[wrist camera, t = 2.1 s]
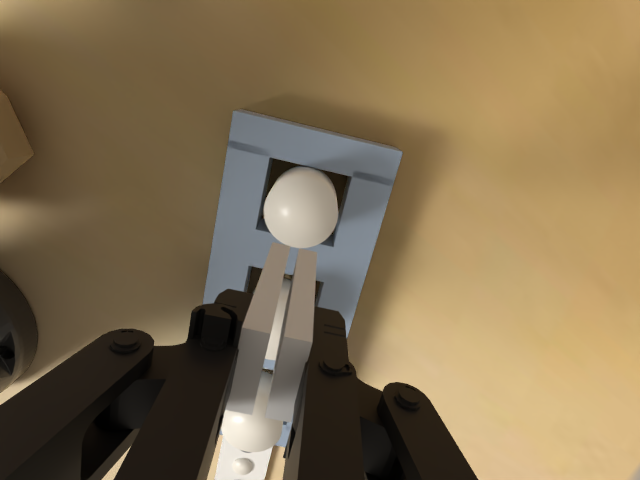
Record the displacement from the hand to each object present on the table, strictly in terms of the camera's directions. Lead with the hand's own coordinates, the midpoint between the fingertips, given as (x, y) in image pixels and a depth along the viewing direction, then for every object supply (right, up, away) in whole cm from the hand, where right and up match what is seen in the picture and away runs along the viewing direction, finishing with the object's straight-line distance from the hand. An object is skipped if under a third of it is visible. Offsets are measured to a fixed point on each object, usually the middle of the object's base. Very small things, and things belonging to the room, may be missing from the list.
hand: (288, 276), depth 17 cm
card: (-6, -21, +25) cm, 33 cm away
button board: (-2, -3, +18) cm, 19 cm away
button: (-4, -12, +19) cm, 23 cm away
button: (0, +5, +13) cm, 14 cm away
